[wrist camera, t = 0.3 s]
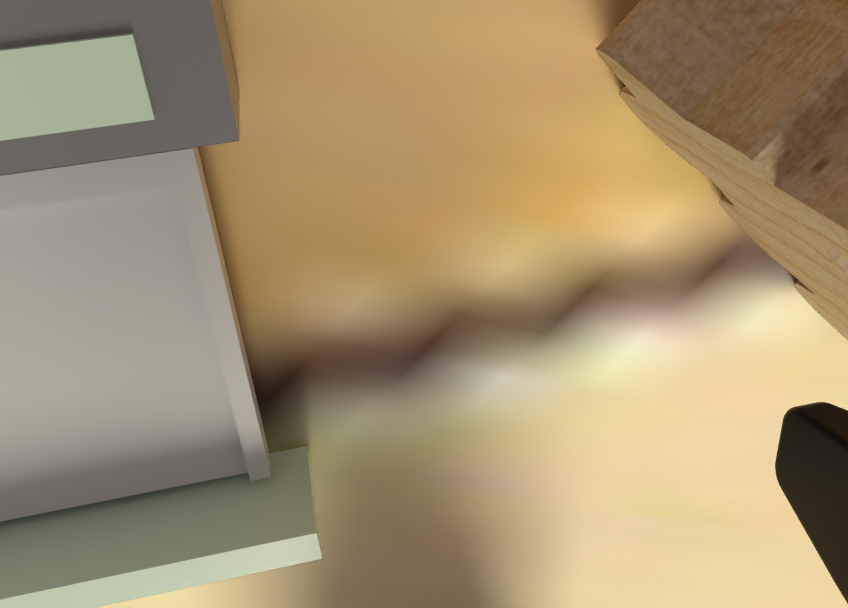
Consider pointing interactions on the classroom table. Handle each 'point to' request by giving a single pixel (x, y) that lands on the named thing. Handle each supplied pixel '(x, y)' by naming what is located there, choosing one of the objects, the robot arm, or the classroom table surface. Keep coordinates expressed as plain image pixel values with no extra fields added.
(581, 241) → the classroom table surface
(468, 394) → the classroom table surface
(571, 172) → the classroom table surface
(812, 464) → the robot arm
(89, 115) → the block
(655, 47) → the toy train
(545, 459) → the classroom table surface
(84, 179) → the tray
